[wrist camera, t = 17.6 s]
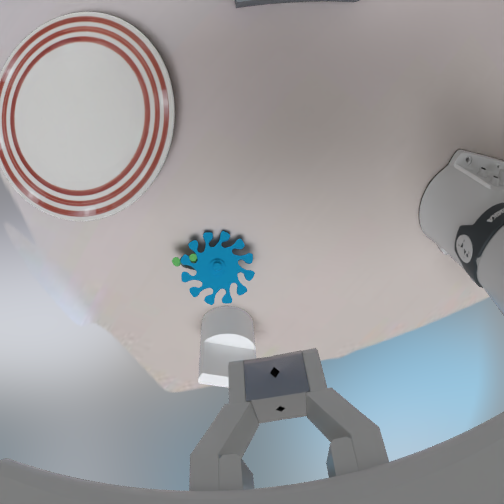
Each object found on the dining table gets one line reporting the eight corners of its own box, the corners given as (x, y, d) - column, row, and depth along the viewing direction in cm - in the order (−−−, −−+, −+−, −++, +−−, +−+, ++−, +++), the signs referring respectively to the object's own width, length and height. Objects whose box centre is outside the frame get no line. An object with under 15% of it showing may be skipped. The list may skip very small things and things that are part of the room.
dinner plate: (2, 196, 37) (-9, 206, 34) (13, 20, 22) (-1, 20, 19) (159, 227, 42) (155, 239, 40) (204, 24, 28) (202, 20, 25)
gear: (262, 239, 42) (246, 312, 40) (256, 248, 48) (242, 312, 46) (182, 220, 42) (163, 292, 40) (186, 231, 47) (169, 295, 45)
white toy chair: (260, 311, 53) (267, 370, 43) (244, 343, 57) (248, 399, 47) (207, 301, 50) (204, 361, 41) (197, 335, 55) (193, 391, 45)
